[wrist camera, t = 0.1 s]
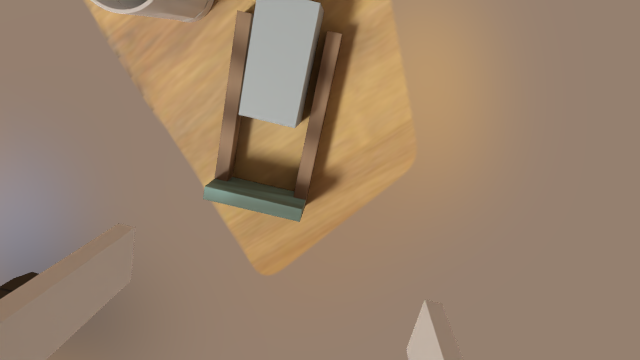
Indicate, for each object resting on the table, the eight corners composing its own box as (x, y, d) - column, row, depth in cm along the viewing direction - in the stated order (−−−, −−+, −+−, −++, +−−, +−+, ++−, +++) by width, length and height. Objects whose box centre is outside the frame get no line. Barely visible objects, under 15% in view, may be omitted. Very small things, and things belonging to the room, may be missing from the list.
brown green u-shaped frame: (243, 13, 39) (227, 5, 34) (342, 35, 39) (340, 30, 34) (219, 185, 45) (203, 198, 40) (305, 205, 45) (299, 221, 40)
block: (269, -2, 39) (258, -12, 34) (324, 11, 39) (320, 2, 34) (251, 109, 42) (238, 114, 37) (301, 121, 42) (294, 128, 37)
